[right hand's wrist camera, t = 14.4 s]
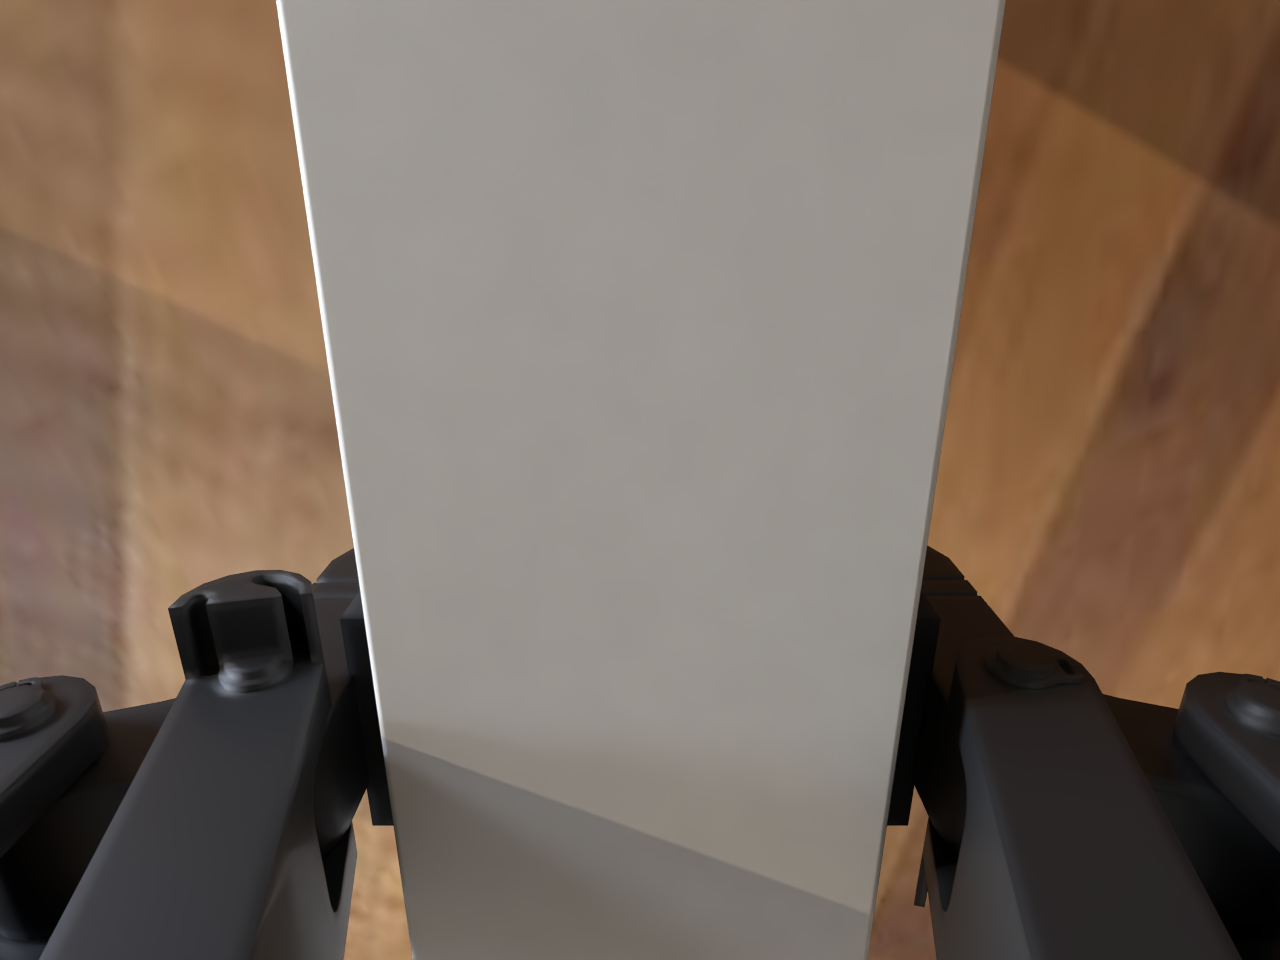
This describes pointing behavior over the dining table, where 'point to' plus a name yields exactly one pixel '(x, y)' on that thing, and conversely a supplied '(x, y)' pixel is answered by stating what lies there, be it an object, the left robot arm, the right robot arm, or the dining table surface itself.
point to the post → (640, 442)
